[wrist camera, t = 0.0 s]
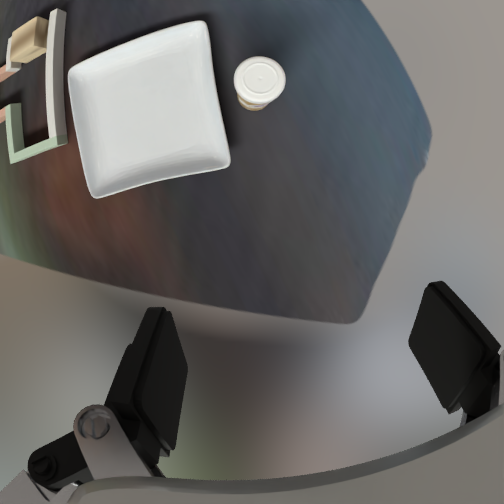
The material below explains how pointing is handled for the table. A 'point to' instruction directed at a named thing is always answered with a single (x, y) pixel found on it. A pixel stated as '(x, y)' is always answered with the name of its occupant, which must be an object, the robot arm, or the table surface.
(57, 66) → the pastel wall shelf
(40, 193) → the table surface
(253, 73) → the sprinkles bottle
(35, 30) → the block
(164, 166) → the salad plate
